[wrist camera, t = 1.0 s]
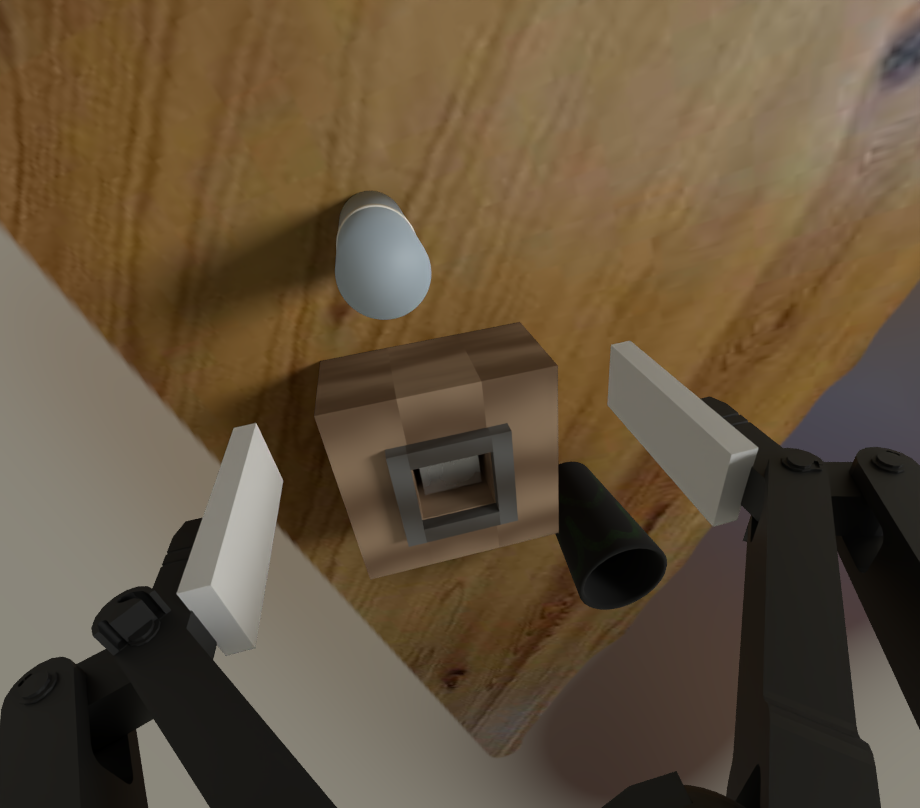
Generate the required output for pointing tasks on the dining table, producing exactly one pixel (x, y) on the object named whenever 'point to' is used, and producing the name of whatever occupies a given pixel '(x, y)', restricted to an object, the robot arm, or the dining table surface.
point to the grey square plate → (450, 475)
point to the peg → (379, 258)
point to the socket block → (443, 444)
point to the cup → (603, 542)
